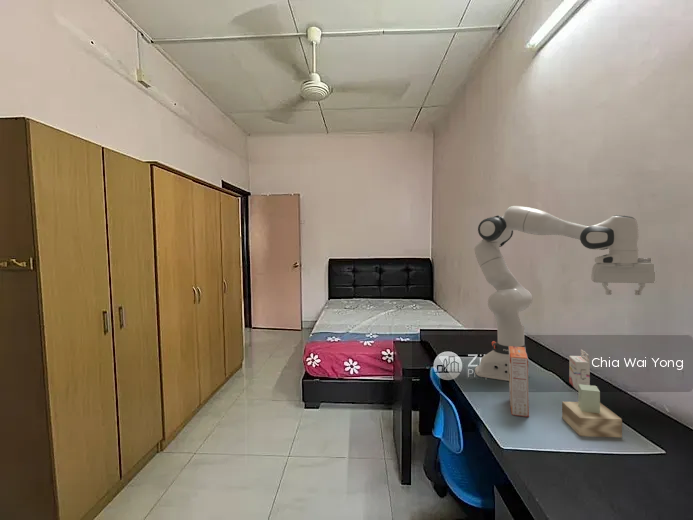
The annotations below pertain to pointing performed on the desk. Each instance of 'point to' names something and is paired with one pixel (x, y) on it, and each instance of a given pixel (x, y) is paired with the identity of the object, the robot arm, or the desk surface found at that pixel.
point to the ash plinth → (592, 421)
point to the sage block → (589, 398)
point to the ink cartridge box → (579, 370)
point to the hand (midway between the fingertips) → (623, 294)
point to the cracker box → (518, 381)
